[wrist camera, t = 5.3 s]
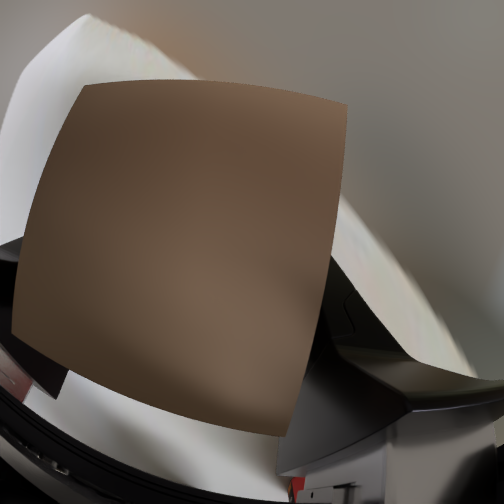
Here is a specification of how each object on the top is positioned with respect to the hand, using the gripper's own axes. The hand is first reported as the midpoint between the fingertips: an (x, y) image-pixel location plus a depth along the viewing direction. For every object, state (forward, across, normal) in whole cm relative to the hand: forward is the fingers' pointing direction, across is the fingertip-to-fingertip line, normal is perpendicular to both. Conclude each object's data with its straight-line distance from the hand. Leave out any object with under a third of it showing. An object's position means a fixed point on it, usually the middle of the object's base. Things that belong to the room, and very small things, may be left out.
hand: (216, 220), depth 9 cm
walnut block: (+4, 0, +6) cm, 7 cm away
